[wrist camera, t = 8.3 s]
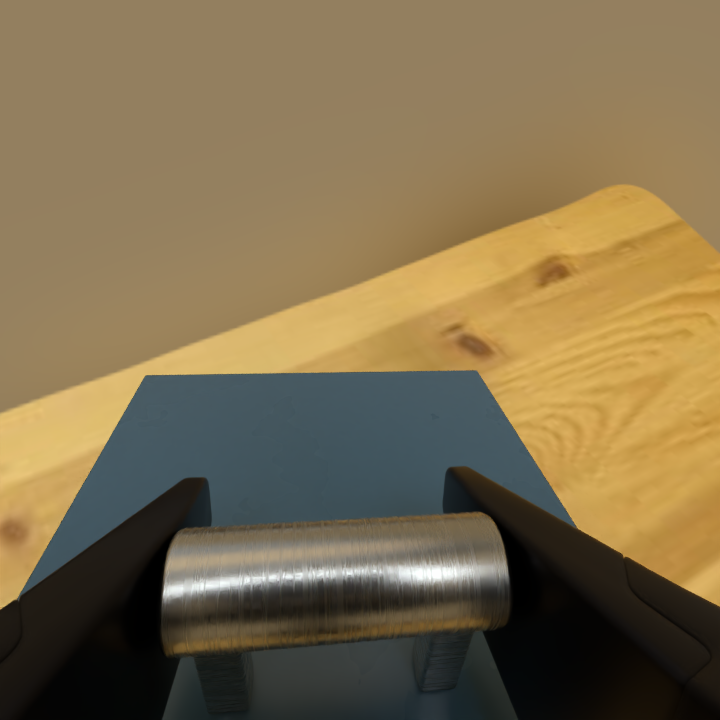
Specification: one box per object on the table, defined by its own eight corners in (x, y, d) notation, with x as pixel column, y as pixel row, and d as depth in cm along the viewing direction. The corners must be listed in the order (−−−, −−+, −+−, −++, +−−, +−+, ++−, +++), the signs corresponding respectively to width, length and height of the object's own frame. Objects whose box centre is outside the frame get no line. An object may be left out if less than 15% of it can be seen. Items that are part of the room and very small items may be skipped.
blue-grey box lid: (719, 802, 7) (907, 659, 5) (-134, 929, 6) (-434, 807, 3) (473, 386, 18) (497, 278, 16) (149, 392, 16) (121, 274, 14)
